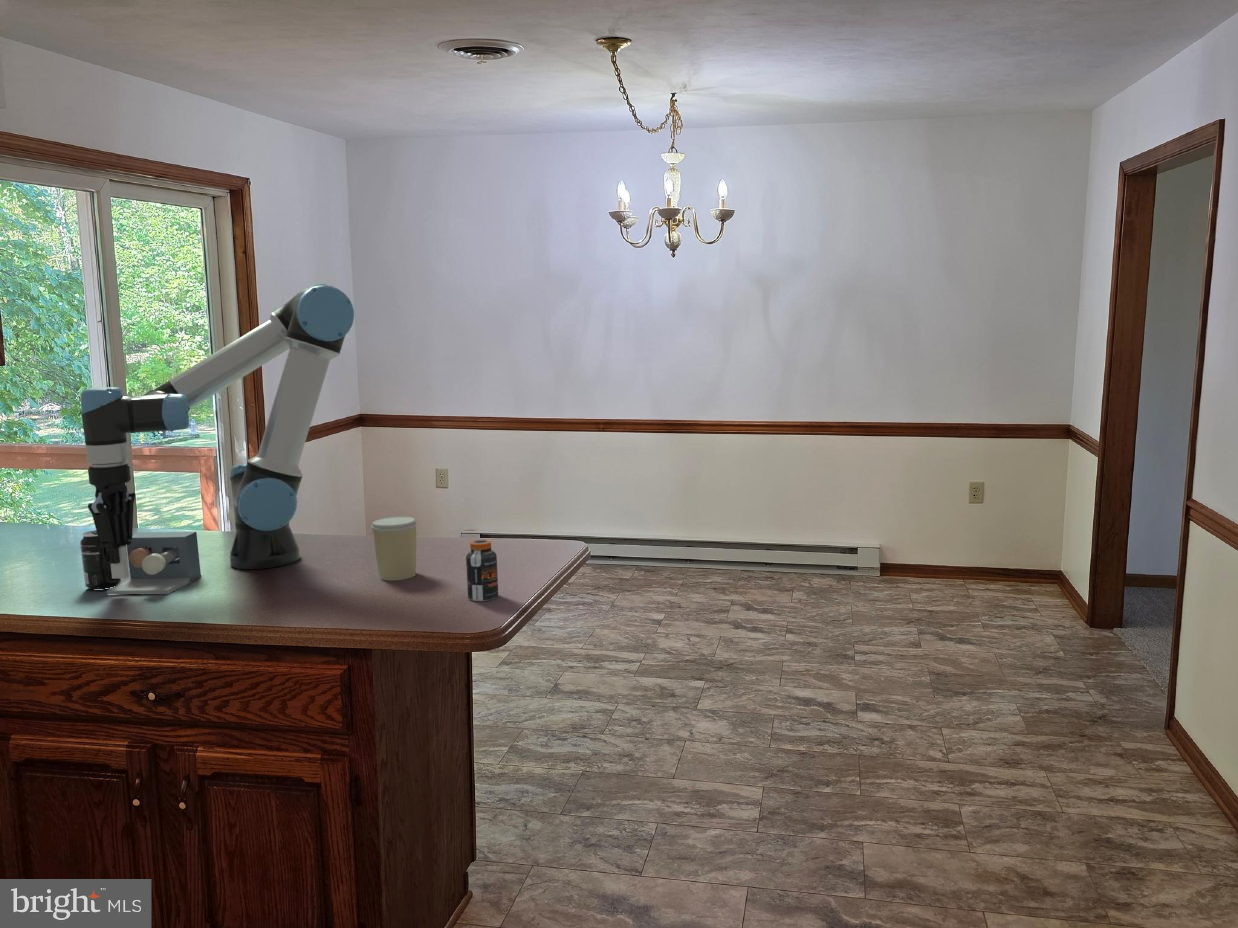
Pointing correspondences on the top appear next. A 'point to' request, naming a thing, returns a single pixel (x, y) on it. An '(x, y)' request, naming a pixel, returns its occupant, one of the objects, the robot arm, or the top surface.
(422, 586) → the top surface
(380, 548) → the coffee cup
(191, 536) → the mount
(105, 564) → the beverage can
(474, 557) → the pill bottle
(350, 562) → the top surface
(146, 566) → the knob ivory
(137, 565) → the tan flanged peg
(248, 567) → the robot arm
